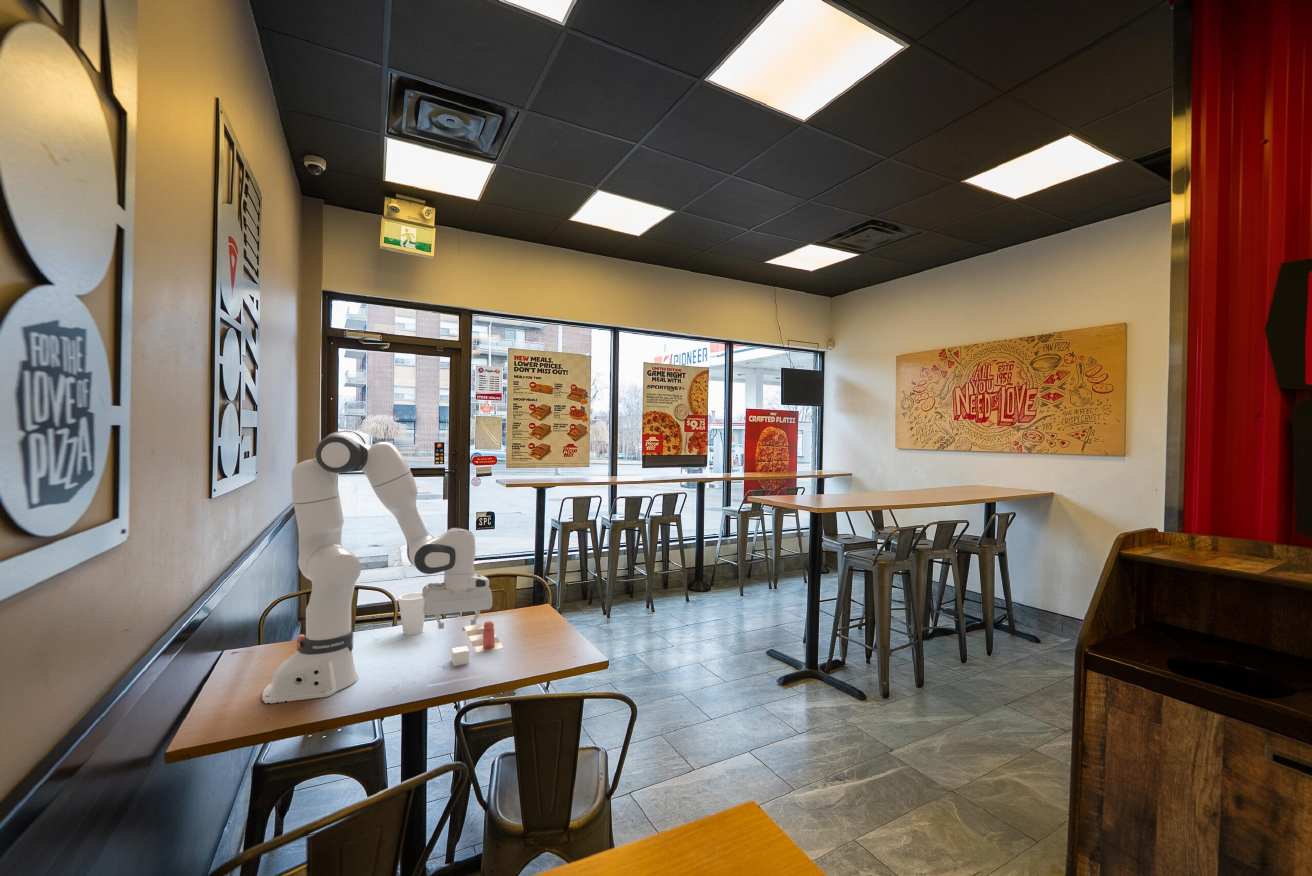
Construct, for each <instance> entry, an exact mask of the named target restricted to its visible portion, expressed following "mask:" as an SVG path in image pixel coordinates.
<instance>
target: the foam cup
mask: <svg viewBox="0 0 1312 876" xmlns="http://www.w3.org/2000/svg"><path fill="white" fill-rule="evenodd" d="M423 601H424V598H423V596H422V591H420V592H418V591H415V592H408V593H404V594H401V595H399V597H398V605H399V606H398V607H399V613H400V620H401V626H402V633H403V635H405V636H416V635H418V634H422V633H423V631H424V626H425V625H424V623H425V619H426V617H425V616H426V615H425V614H424V613H423V611H422V608H423Z"/></svg>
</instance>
